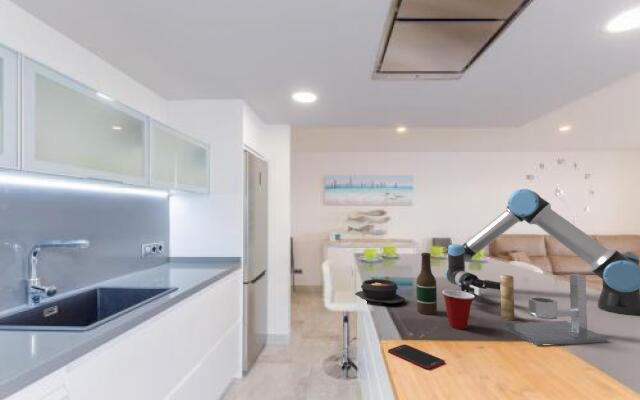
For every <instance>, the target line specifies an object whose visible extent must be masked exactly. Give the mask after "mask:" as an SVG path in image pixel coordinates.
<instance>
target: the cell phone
mask: <svg viewBox="0 0 640 400" xmlns="http://www.w3.org/2000/svg"><path fill="white" fill-rule="evenodd" d="M387 353H389V354H391V355H393V356H395V357H397V358H398V359H401V360H404V361H406V362H409V363H411V364H412V365H414V366H416V367H419V368H421V369H424V370H427V371H431V370H433V369H436V368H439V367H441V366H443V365H445V364H446V361H445V360H444V359H442V358H440V357H438V356H435V355H433V354H430V353H428V352H426V351H422V350H421V349H419V348H415V347H413V346H411V345H408V344H401V345H398V346H395V347H392V348H390V349H387Z"/></svg>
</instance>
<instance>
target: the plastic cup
mask: <svg viewBox="0 0 640 400" xmlns="http://www.w3.org/2000/svg"><path fill="white" fill-rule="evenodd" d="M442 294H443V298H444V303H445V307H446V308H445V310H446V316H447V320H448V324H449V326H450V327H451V328H453V329H458V330H464V329H467V328H468V324H469V318H470V313H471V307H472V304H473V301H474V299H475V295H474V293H471V292H469V293H467V292H466V291H461V290H457V289H456V290H454V289H444V290H442Z"/></svg>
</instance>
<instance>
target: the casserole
mask: <svg viewBox="0 0 640 400" xmlns="http://www.w3.org/2000/svg"><path fill="white" fill-rule="evenodd" d="M360 288H361V290H360V291H356V292H355V293H354V295H355V296H358V297H359V298H360V299H362V300H365V301H366V302H369V303H372V304H373V303H374V304H397V303H402V302H404V301H406V298H405V297H404V296H401V295H399V294H397V290H398V289H399V287H398V286H397V283H396V282H395V281H394V280H390V279H384V278H383V279H382V278H381V279H380V278H379V279H378V278H375V279H373V278H372V279H367V280H364V281H362V284H361V286H360Z"/></svg>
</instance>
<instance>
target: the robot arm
mask: <svg viewBox="0 0 640 400" xmlns="http://www.w3.org/2000/svg"><path fill="white" fill-rule="evenodd" d="M505 209H506V210H504V211H503V212H501V213H500V215H498V216H497V217H496V218H494V219H493V220H492V221H490V222H489V223H488V224H487V225H485V226H484V227H483V228H481V230H479V231H478V232H476V234H474V235H473V236H472V237H471V238H469V239H468V240H467V241H466V242H464V243H463V244H460V243H459V244H454V243H453V244H449V245H448V247H447V255H448V260H447V262H448V268H447V269H446V270H445V273H444V277H445V279H446V281H448V282H449V283H450V284H451V285H456V286H458V287H459V288H460V291H463V292H467V293H471V294H473V295H474V294H475V295H477V296H481V289H482V290H486V289H492V290H498V291H499V290H500V292H501V281H500V282H499V281H493V280H488V279H484V280H483V279H480V278H479V277H478V276H477V275H476V274H473V273H470V272H467V271H466V270H465V269H466V263H465V262H467V261H470V260H472V258H473V257H474V256H475V255H477V254H478V253H479V252H481V251H482V250H483V249H485V248H487V246H488V245H490V244H491V243H493V242H494V241H495V240H496V239H498V238H499V237H500V236H501V235H503V234H504V233H505V232H507V231H508V230H509V229H511V228H512V227H513V226H515V225H516V224H517V223H522V222H524V221H525V222H526V223H527V224H529V225H536V226H537V227H538V228H540V229H541V230H542V231H544V232H546V233H547V234H548V235H549V236H551V237H552V238H554V239H555V240H557V241H558V242H559V243H561V244H562V245H563V246H565V247H566V248H567V249H568V250H570V251H571V252H573V253H574V254H575V255H576V256H578V257H579V259H580V258H581V259H582V260H583V261H584V262H585V263H587V264H588V265H589V266H590V271H591V272H592V273H594V274H595V275H596V276H598V277H599V278H600V279H601V281H602V282H601V283H602V290H601V293H600V295H599V299H598V300H597V307H598V308H599V309H601V310H603V311H607V312H612V313H617V314H623V315H632V316H640V258H639V255H637V254H632V253H622V252H620V251H618V250H616V249H609V248H607V247H606V246H604V245H602V244H601V243H600V242H598V241H596V240H595V239H594V238H593V237H591V236H590V235H588V234H587V233H586V232H584V231H583V230H581V229H580V228H578V227H577V226H576V225H574V224H573V223H571V222H570V221H568V220H567V219H566V218H564V217H563V216H561V215H560V214H558V213H557V212H556V211H554V210H553V209H552V205H551V203H550V202H548V201H547V200H546V199H544V198H542V197H541V196H540V195H539V194H538V193H537V192H535V191H533V190H531V189H528V188H521V189H517V190H516V191H514V192H513V193H511V194H510V195H509V198H508V200H507V206H506V208H505Z"/></svg>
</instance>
